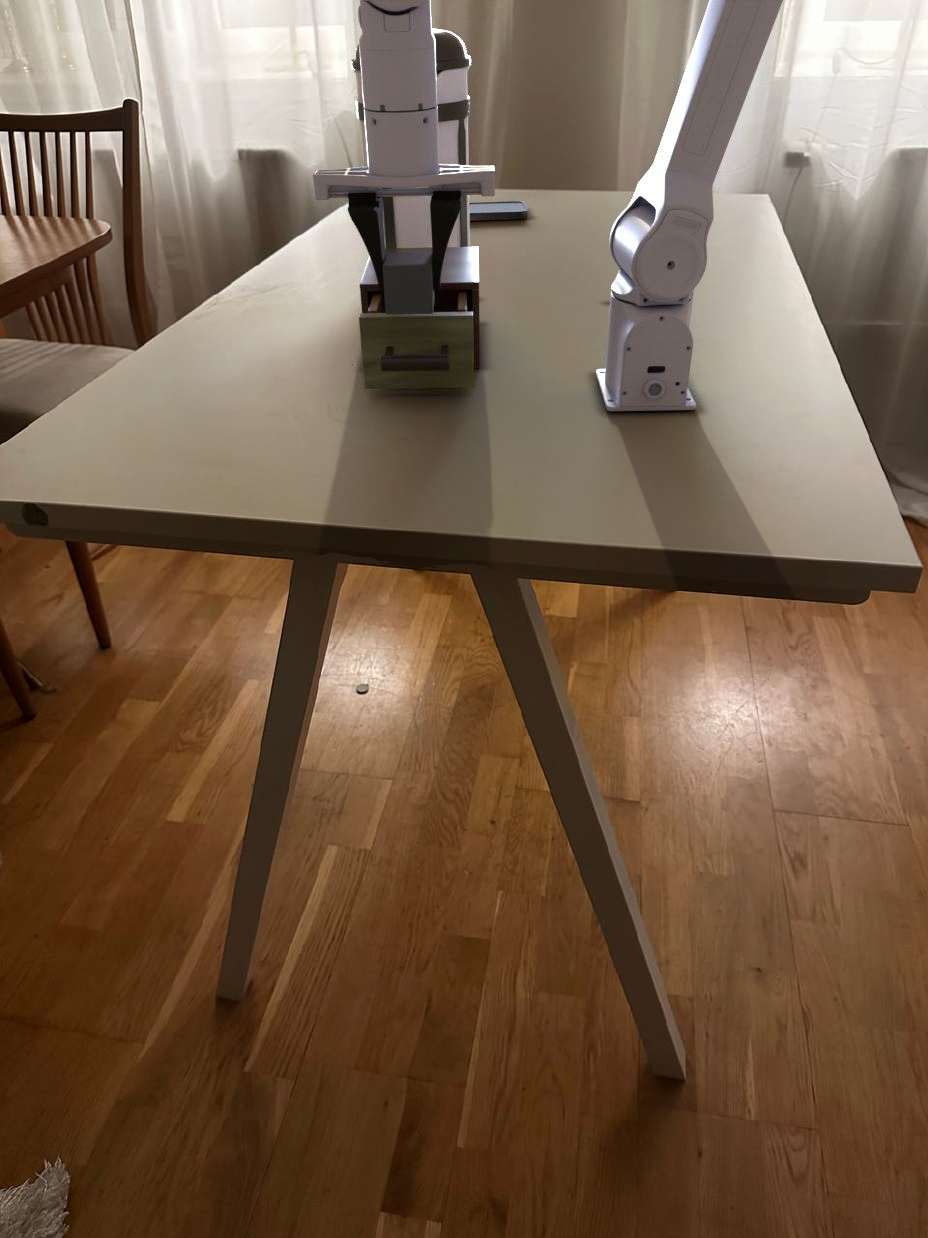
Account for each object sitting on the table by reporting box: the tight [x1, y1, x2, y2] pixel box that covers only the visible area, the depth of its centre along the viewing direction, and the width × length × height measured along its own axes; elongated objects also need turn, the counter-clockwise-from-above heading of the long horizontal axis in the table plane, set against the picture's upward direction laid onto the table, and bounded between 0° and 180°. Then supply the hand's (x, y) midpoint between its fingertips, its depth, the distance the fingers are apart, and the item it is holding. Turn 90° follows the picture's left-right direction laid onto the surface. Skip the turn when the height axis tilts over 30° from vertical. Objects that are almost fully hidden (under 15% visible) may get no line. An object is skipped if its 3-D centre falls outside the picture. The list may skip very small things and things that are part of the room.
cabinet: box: [359, 246, 481, 369], centre depth 94 cm, size 13×11×8 cm
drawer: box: [358, 290, 475, 390], centre depth 86 cm, size 17×10×7 cm, turn 0°
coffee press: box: [350, 28, 472, 248], centre depth 104 cm, size 17×16×30 cm
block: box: [383, 252, 435, 314], centre depth 77 cm, size 4×4×4 cm
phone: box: [469, 200, 529, 222], centre depth 145 cm, size 8×1×15 cm
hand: (410, 287), depth 78 cm, fingers closed on block, 4 cm apart
